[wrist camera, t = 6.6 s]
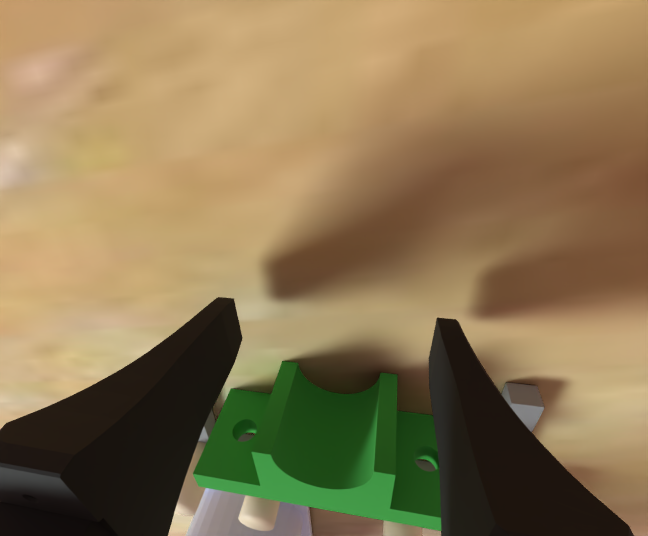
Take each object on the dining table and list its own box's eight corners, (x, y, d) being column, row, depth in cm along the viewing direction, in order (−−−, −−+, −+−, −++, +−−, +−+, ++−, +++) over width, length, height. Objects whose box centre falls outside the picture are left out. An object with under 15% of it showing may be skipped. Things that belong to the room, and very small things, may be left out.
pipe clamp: (468, 377, 16) (488, 490, 12) (453, 427, 18) (466, 536, 15) (221, 350, 18) (174, 443, 14) (234, 399, 20) (196, 489, 16)
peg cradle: (495, 487, 20) (513, 579, 17) (200, 440, 23) (166, 512, 20) (545, 386, 15) (583, 490, 12) (161, 342, 18) (107, 417, 15)
